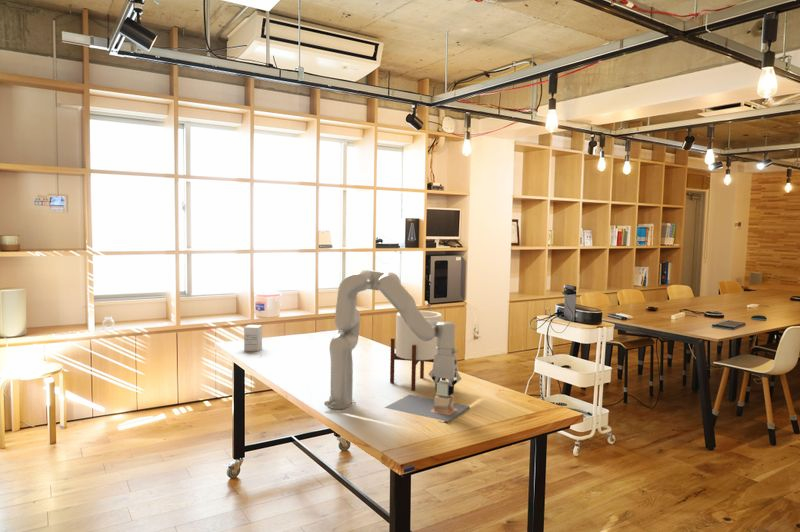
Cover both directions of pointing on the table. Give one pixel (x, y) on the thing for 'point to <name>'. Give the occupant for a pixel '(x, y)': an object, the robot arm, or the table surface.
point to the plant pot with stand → (413, 346)
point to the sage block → (442, 388)
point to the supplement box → (252, 338)
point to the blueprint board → (426, 408)
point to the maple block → (443, 403)
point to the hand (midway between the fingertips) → (444, 393)
